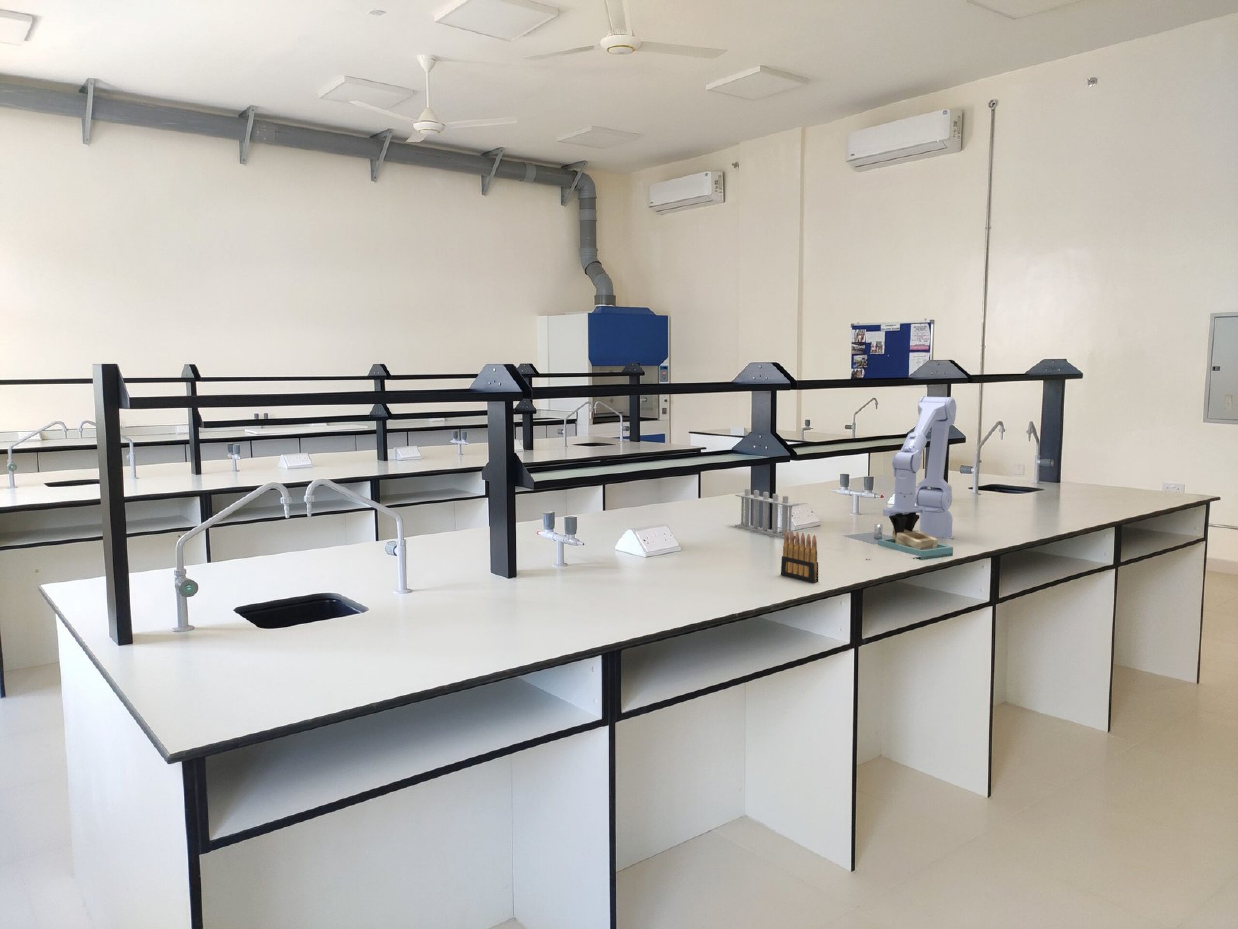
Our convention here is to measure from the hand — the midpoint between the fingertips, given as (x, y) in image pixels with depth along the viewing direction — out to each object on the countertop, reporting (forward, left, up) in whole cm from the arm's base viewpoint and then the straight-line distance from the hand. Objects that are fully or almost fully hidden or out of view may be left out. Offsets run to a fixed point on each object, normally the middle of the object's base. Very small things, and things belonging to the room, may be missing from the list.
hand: (903, 538), depth 248 cm
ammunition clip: (+49, +14, -3) cm, 51 cm away
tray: (0, +4, -3) cm, 5 cm away
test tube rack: (+22, -38, -3) cm, 44 cm away
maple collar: (0, +3, -1) cm, 3 cm away
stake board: (0, -12, -3) cm, 12 cm away
